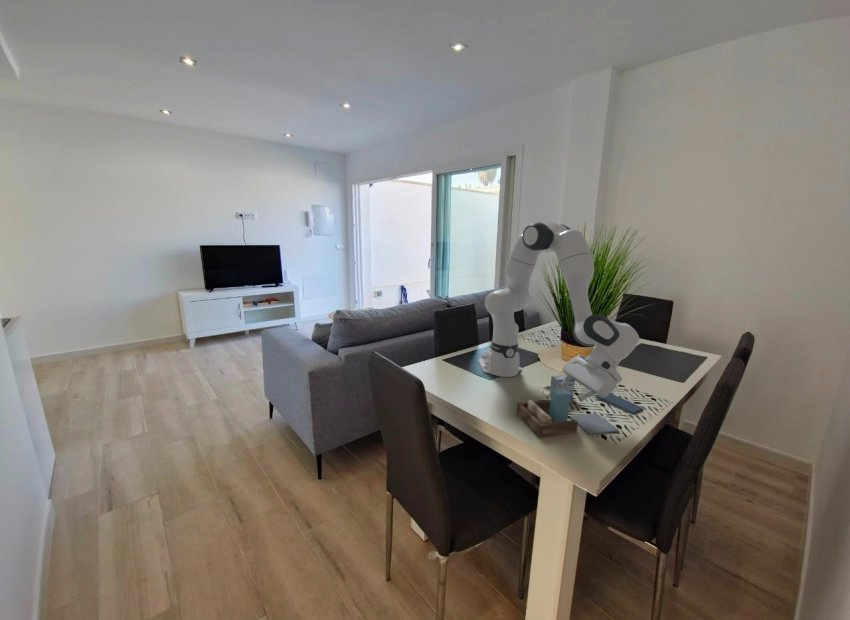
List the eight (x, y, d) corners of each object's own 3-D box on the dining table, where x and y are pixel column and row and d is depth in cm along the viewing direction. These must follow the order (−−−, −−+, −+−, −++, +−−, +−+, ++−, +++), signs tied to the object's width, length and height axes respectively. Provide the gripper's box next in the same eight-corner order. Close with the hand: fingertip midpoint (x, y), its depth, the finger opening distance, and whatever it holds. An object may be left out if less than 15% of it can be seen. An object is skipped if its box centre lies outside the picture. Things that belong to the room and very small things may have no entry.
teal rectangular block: (548, 419, 121) (551, 390, 119) (560, 417, 123) (564, 389, 120) (554, 424, 118) (557, 395, 116) (567, 423, 119) (570, 393, 117)
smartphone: (633, 413, 126) (595, 394, 138) (632, 417, 126) (594, 398, 138) (644, 407, 130) (606, 390, 142) (643, 411, 130) (605, 394, 142)
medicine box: (555, 400, 135) (558, 380, 133) (548, 395, 139) (551, 375, 137) (573, 398, 137) (575, 378, 135) (565, 393, 141) (568, 373, 139)
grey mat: (568, 417, 123) (569, 415, 123) (595, 414, 125) (596, 413, 125) (589, 435, 113) (590, 433, 112) (618, 431, 115) (618, 429, 115)
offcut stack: (526, 417, 123) (528, 400, 121) (535, 416, 123) (537, 399, 122) (540, 431, 114) (542, 413, 113) (550, 430, 115) (552, 412, 113)
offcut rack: (516, 413, 125) (517, 402, 124) (550, 409, 128) (551, 399, 127) (538, 437, 110) (540, 426, 110) (576, 432, 114) (578, 421, 113)
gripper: (575, 347, 128) (548, 374, 128) (616, 369, 108) (585, 401, 108) (584, 358, 130) (557, 385, 130) (626, 381, 110) (595, 412, 110)
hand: (570, 392), depth 119 cm, fingers open, 8 cm apart
